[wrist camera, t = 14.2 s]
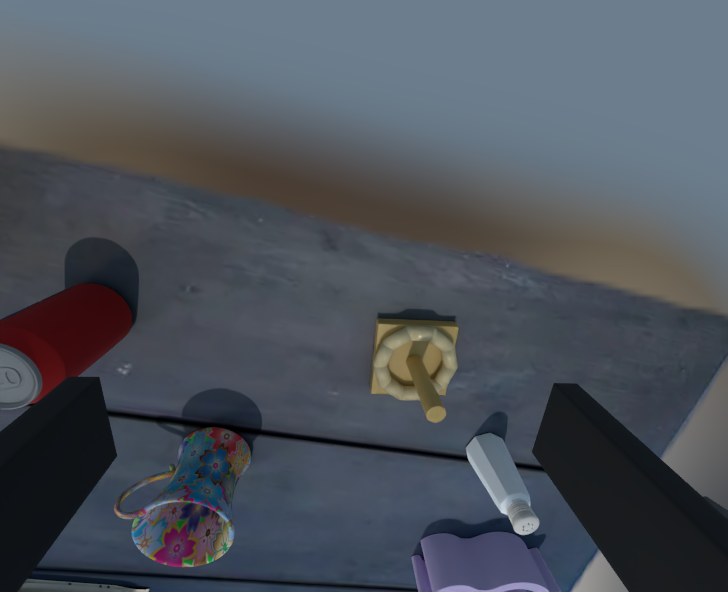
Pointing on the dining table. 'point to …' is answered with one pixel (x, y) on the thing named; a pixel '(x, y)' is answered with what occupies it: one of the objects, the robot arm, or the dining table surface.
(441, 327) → the square plate with peg
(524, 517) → the pepper shaker
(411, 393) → the ring
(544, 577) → the clip
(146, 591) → the newspaper
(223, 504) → the mug
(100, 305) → the beverage can
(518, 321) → the dining table surface
